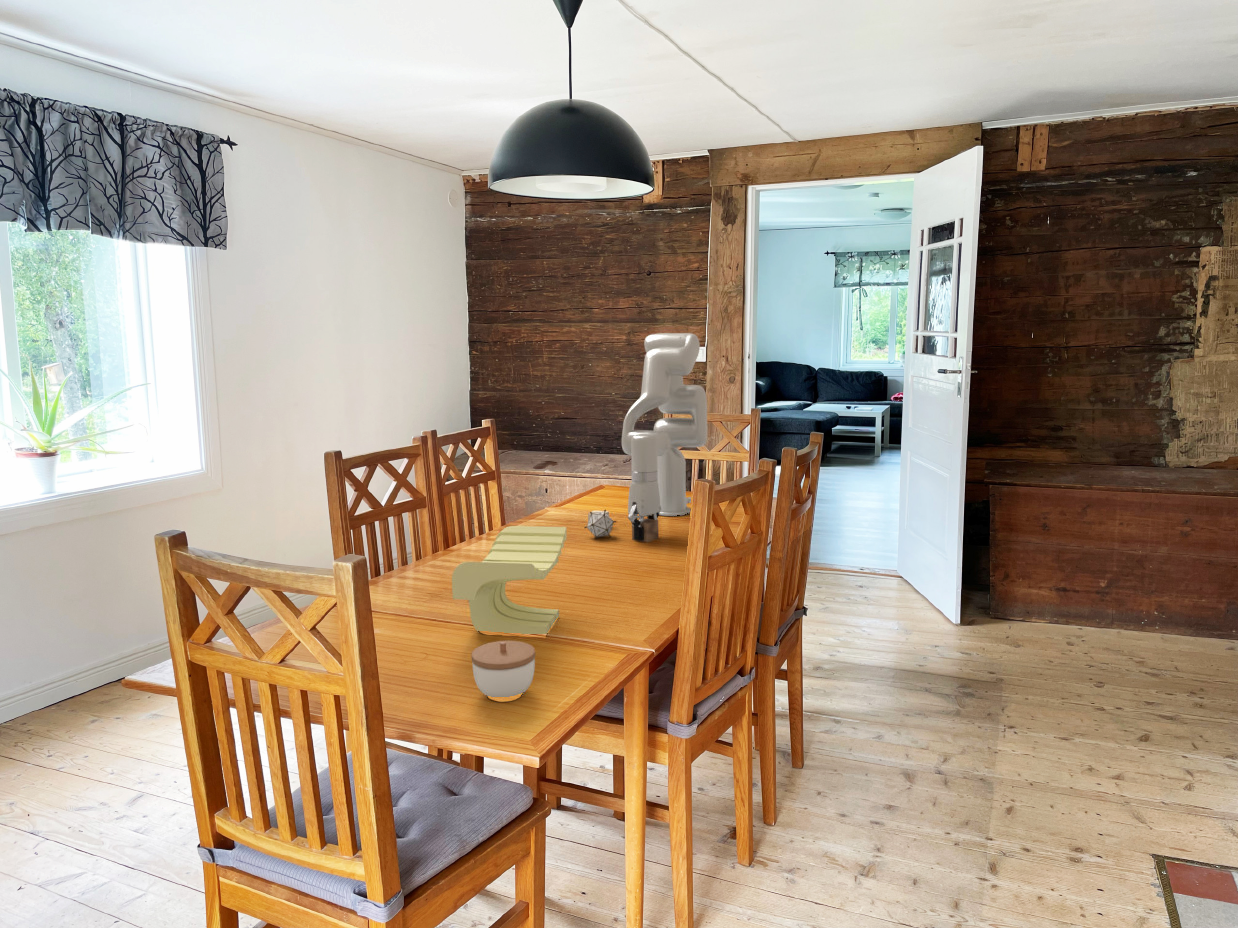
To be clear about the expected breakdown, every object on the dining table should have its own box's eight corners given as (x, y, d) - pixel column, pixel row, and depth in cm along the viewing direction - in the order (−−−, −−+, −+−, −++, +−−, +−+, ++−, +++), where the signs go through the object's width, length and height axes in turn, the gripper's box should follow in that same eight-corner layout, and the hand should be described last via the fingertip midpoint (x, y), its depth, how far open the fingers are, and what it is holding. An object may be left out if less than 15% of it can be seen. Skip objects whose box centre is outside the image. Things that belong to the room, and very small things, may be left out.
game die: (606, 550, 255) (615, 528, 248) (578, 541, 254) (587, 518, 248) (612, 530, 261) (621, 507, 255) (585, 520, 261) (594, 498, 255)
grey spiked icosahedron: (593, 526, 270) (593, 510, 269) (609, 527, 269) (608, 511, 268) (588, 529, 265) (588, 513, 265) (603, 530, 264) (603, 514, 263)
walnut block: (643, 536, 256) (643, 517, 255) (658, 538, 253) (658, 520, 252) (632, 539, 252) (631, 521, 251) (647, 542, 249) (647, 523, 248)
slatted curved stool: (500, 601, 197) (497, 525, 194) (568, 603, 195) (566, 527, 192) (455, 649, 168) (450, 561, 165) (534, 653, 166) (531, 563, 163)
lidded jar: (461, 703, 144) (458, 649, 143) (492, 678, 154) (490, 628, 153) (518, 712, 140) (516, 657, 139) (547, 686, 150) (545, 635, 149)
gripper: (651, 471, 259) (651, 530, 261) (616, 480, 245) (617, 542, 248) (672, 473, 254) (672, 533, 257) (637, 482, 241) (638, 545, 244)
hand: (645, 537), depth 252 cm, fingers closed on walnut block, 5 cm apart
